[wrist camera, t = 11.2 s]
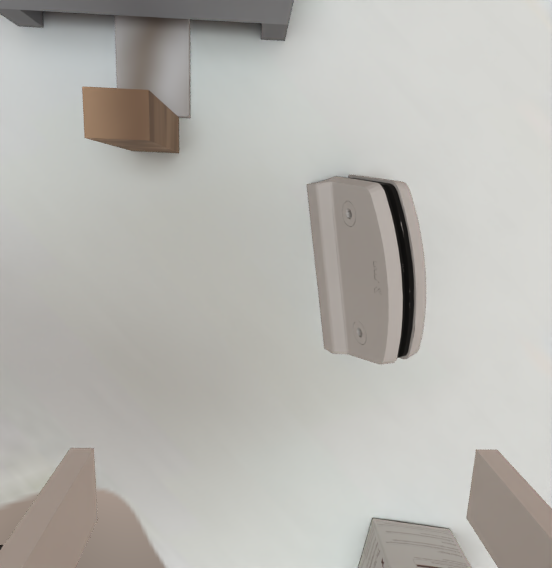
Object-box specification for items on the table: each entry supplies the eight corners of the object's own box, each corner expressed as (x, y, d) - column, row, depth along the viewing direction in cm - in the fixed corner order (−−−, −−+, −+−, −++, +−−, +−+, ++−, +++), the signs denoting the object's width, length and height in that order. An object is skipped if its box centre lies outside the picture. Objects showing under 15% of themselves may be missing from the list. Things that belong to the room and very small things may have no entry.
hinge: (306, 180, 42) (368, 173, 33) (350, 174, 43) (422, 166, 34) (324, 352, 45) (385, 389, 36) (365, 340, 47) (433, 373, 38)
